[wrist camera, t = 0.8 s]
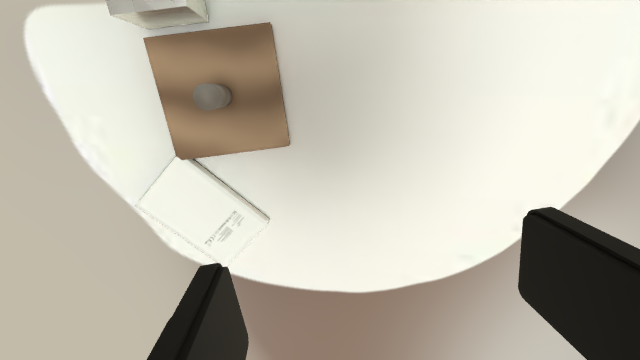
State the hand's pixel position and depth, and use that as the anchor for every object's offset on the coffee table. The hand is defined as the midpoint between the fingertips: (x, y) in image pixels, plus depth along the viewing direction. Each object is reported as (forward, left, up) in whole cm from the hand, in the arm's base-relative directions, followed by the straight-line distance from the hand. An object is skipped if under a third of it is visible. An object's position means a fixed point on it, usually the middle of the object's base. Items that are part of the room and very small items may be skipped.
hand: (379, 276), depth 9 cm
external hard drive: (+7, -15, -26) cm, 30 cm away
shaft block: (-6, -10, -25) cm, 28 cm away
